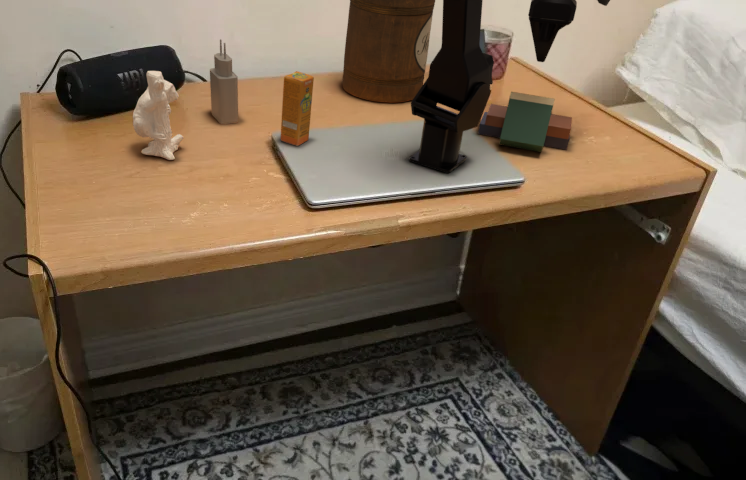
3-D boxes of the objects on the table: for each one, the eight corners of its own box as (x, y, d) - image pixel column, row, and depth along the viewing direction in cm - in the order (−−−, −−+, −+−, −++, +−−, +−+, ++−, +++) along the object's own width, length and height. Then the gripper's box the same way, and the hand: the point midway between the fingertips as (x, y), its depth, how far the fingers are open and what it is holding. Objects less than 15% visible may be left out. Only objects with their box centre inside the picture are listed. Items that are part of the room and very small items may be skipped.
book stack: (482, 121, 112) (486, 101, 110) (567, 136, 109) (573, 116, 107) (477, 134, 107) (481, 113, 105) (566, 150, 104) (572, 129, 102)
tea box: (501, 134, 107) (512, 86, 103) (543, 142, 106) (555, 93, 102) (497, 150, 102) (508, 100, 97) (540, 158, 100) (553, 107, 96)
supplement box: (299, 147, 98) (301, 80, 93) (280, 141, 100) (281, 75, 94) (311, 140, 101) (314, 75, 95) (292, 134, 102) (294, 70, 96)
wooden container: (434, 102, 118) (454, -31, 106) (355, 104, 115) (367, -33, 102) (405, 75, 130) (420, -47, 118) (332, 77, 126) (341, -49, 114)
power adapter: (220, 124, 103) (218, 46, 97) (210, 112, 107) (207, 36, 101) (239, 122, 105) (238, 45, 98) (228, 110, 109) (226, 35, 102)
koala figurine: (188, 162, 91) (182, 77, 85) (137, 166, 90) (128, 78, 83) (181, 138, 98) (176, 57, 91) (134, 141, 96) (125, 58, 90)
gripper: (628, -39, 86) (596, 78, 95) (622, -61, 101) (594, 43, 110) (540, -48, 88) (517, 68, 97) (547, -67, 103) (526, 35, 112)
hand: (542, 53), depth 104 cm, fingers open, 9 cm apart
